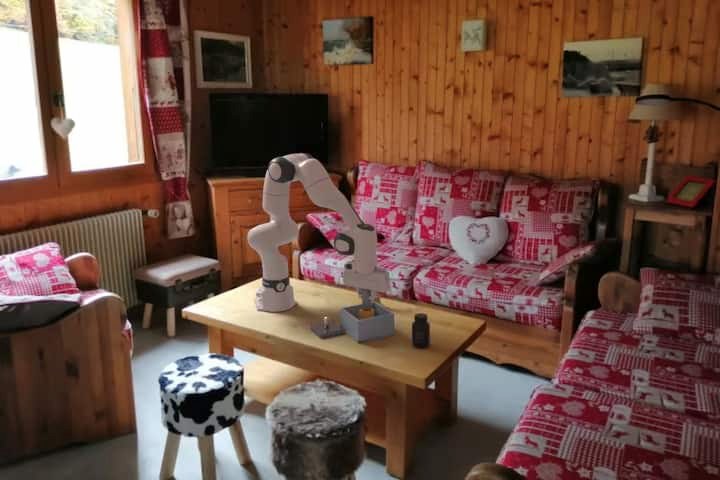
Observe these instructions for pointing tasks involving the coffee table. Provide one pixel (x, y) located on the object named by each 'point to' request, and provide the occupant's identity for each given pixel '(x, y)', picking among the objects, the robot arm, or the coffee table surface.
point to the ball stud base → (326, 328)
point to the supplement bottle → (420, 331)
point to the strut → (366, 305)
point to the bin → (367, 323)
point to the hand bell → (378, 300)
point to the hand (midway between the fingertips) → (366, 299)
